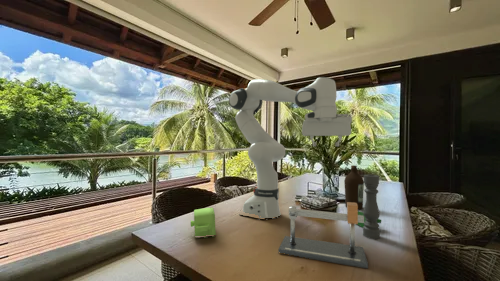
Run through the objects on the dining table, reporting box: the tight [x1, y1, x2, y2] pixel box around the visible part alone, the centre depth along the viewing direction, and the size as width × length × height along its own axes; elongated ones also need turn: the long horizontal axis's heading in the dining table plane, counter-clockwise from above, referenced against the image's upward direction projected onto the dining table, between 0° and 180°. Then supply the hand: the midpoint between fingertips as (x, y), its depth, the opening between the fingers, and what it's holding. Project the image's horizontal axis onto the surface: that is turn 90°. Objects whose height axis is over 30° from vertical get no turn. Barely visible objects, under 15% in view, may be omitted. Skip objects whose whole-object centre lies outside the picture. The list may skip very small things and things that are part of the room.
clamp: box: [356, 210, 382, 228], centre depth 106 cm, size 12×6×9 cm, turn 3°
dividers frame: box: [288, 205, 364, 244], centre depth 82 cm, size 26×6×14 cm, turn 70°
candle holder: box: [362, 174, 381, 240], centre depth 95 cm, size 6×6×25 cm
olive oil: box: [343, 165, 365, 211], centre depth 137 cm, size 11×11×25 cm
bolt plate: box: [278, 235, 369, 270], centre depth 81 cm, size 28×12×2 cm, turn 70°
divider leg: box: [346, 202, 359, 252], centre depth 78 cm, size 3×5×16 cm, turn 160°
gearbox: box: [190, 207, 217, 237], centre depth 98 cm, size 18×10×10 cm, turn 13°
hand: (325, 146), depth 99 cm, fingers open, 8 cm apart
